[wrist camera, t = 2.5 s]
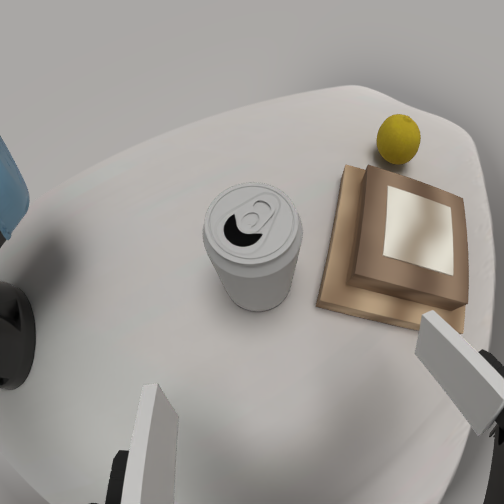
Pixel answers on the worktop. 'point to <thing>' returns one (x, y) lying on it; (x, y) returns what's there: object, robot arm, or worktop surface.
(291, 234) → the beverage can
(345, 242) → the pedestal
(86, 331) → the worktop surface
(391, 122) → the lemon
